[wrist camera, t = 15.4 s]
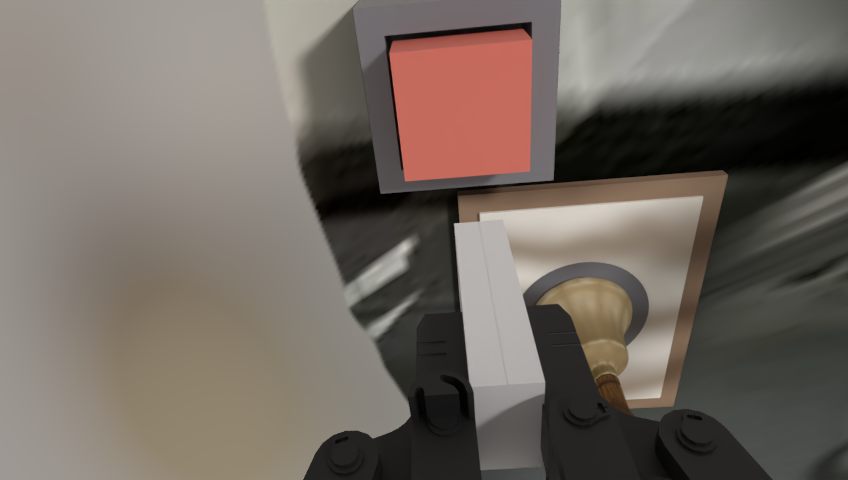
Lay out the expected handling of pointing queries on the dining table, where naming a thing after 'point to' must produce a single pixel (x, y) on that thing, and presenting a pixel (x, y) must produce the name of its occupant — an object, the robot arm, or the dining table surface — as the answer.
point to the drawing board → (618, 256)
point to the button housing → (444, 16)
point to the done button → (463, 104)
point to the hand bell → (598, 329)
